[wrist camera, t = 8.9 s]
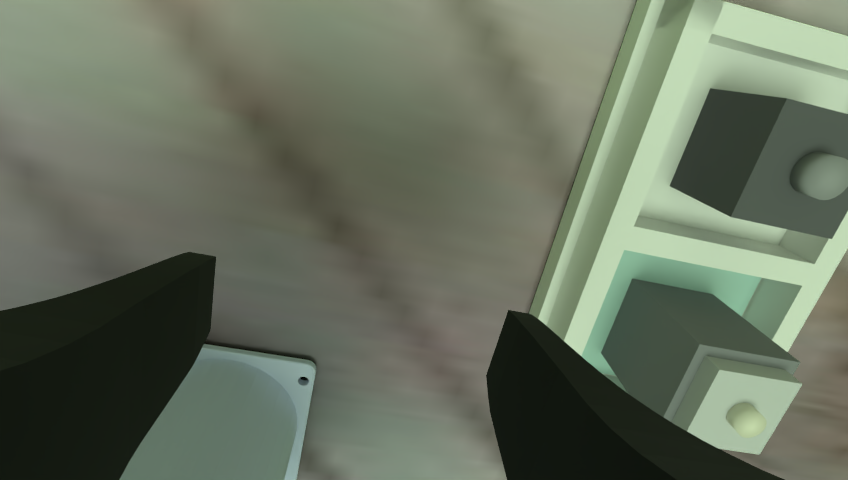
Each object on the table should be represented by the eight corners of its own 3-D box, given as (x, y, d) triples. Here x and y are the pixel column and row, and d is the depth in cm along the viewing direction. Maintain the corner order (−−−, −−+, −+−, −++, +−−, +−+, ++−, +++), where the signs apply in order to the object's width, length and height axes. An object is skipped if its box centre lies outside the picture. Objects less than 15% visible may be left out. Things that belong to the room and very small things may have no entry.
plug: (754, 204, 21) (851, 247, 16) (669, 186, 20) (746, 224, 16) (800, 111, 20) (920, 130, 15) (710, 88, 19) (807, 101, 15)
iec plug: (677, 365, 24) (775, 477, 18) (600, 352, 23) (674, 463, 17) (712, 294, 22) (833, 387, 16) (632, 278, 22) (725, 369, 16)
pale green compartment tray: (706, 395, 26) (746, 439, 23) (511, 363, 25) (527, 406, 22) (880, 66, 20) (964, 69, 17) (637, -2, 19) (683, -11, 16)
